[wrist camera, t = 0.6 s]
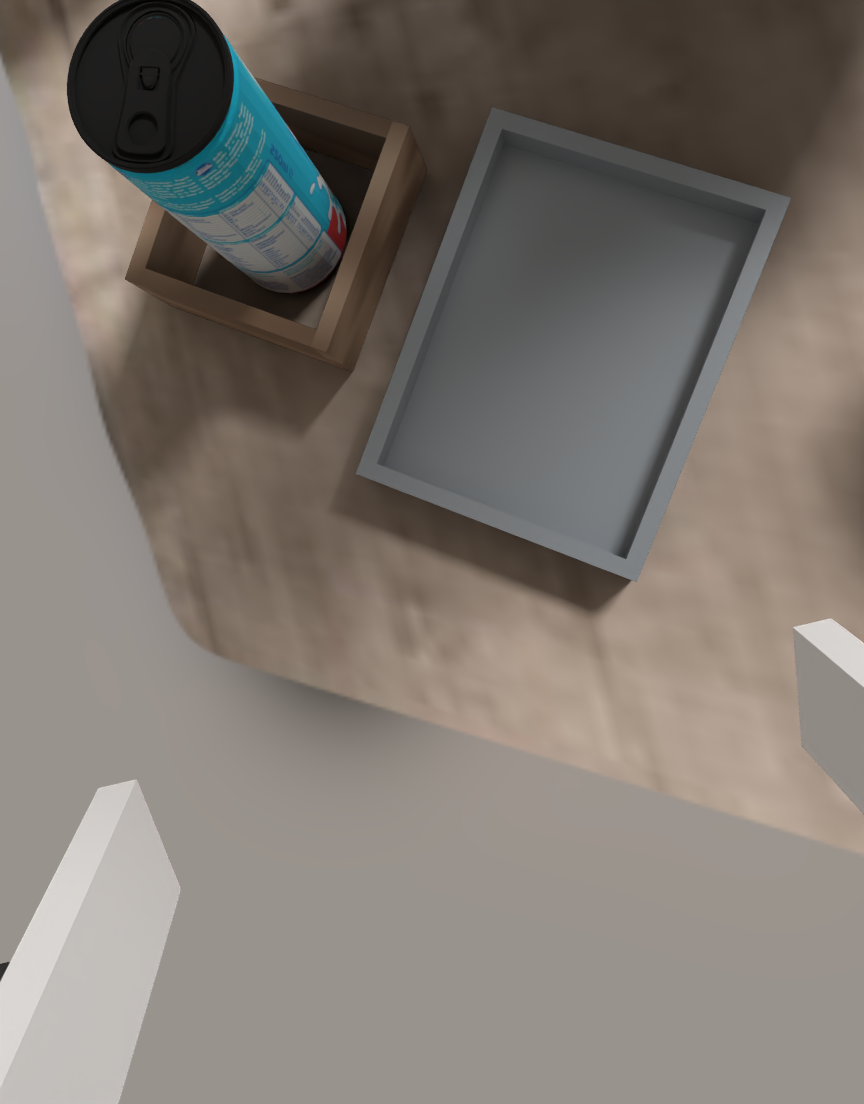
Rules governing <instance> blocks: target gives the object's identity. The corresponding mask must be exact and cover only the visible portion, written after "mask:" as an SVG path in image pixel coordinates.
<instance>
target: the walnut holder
mask: <svg viewBox="0 0 864 1104" xmlns="http://www.w3.org/2000/svg"><path fill="white" fill-rule="evenodd" d="M254 78H255V77H254ZM255 80H256V81H257V83H258V84H259V85H260V87H261V88H262V90H263V91H264V93H265V94H266V96H267V97H268V98H269V100H270V101H271V103H272V104H273V106H274V107H275V109H276V110H277V111H278V113H279V114H280V116H281V117H282V119H283V120H284V122H285V123H286V125H287V126H288V127H289V129H290V130H291V132H292V133H293V135H294V136H295V138H296V139H297V141H298V142H299V144H300V145H301V146H302V147H303V148H306V149H309V150H312V151H315V152H319V153H322V154H325V155H328V156H331V157H334V158H337V159H340V160H343V161H346V162H349V163H353V164H356V165H359V166H362V167H365V168H368V169H371V170H374V174H373V176H372V179H371V182H370V185H369V187H368V190H367V193H366V196H365V198H364V201H363V204H362V207H361V209H360V212H359V215H358V218H357V220H356V223H355V226H354V229H353V232H352V234H351V237H350V240H349V243H348V245H347V248H346V251H345V254H344V256H343V259H342V262H341V265H340V267H339V270H338V273H337V276H336V278H335V281H334V284H333V287H332V289H331V292H330V295H329V298H328V300H327V303H326V306H325V309H324V311H323V314H322V317H321V320H320V322H319V325H318V328H317V330H316V329H313V328H310V327H307V326H304V325H302V324H299V323H296V322H293V321H291V320H288V319H285V318H282V317H279V316H277V315H274V314H271V313H268V312H265V311H263V310H260V309H257V308H254V307H252V306H249V305H246V304H243V303H240V302H238V301H235V300H232V299H229V298H227V297H224V296H221V295H218V294H215V293H213V292H210V291H207V290H204V289H201V288H199V287H196V286H193V282H194V279H195V276H196V273H197V271H198V268H199V265H200V262H201V259H202V256H203V253H204V251H205V248H206V245H207V243H206V242H204V241H203V240H202V239H201V238H199V237H198V236H197V235H196V234H194V233H193V232H192V231H191V230H189V229H188V228H187V227H186V226H184V225H183V224H182V223H181V222H179V221H178V220H177V219H176V218H174V217H173V216H172V215H171V214H169V213H168V212H167V211H166V210H165V209H163V208H162V207H161V206H160V205H158V204H157V203H156V202H155V201H153V200H152V201H151V204H150V207H149V210H148V213H147V216H146V219H145V222H144V224H143V227H142V230H141V233H140V236H139V239H138V242H137V245H136V248H135V251H134V254H133V256H132V259H131V262H130V265H129V268H128V271H127V274H126V277H125V280H127V281H129V282H131V283H132V284H134V285H136V286H137V287H139V288H141V289H143V290H144V291H146V292H148V293H150V294H151V295H153V296H155V297H156V298H158V299H160V300H162V301H163V302H165V303H167V304H168V305H170V306H173V307H176V308H178V309H181V310H184V311H187V312H189V313H192V314H195V315H198V316H200V317H203V318H206V319H209V320H211V321H214V322H217V323H219V324H222V325H225V326H228V327H230V328H233V329H236V330H239V331H241V332H244V333H247V334H250V335H252V336H255V337H258V338H261V339H263V340H266V341H269V342H271V343H274V344H277V345H280V346H282V347H285V348H288V349H291V350H293V351H296V352H299V353H302V354H304V355H307V356H310V357H313V358H315V359H318V360H321V361H324V362H326V363H329V364H332V365H334V366H337V367H340V368H343V369H345V370H348V371H351V372H353V370H354V367H355V364H356V361H357V359H358V356H359V353H360V350H361V348H362V345H363V342H364V340H365V337H366V334H367V331H368V329H369V326H370V323H371V321H372V318H373V315H374V312H375V310H376V307H377V304H378V302H379V299H380V296H381V293H382V291H383V288H384V285H385V282H386V280H387V277H388V274H389V272H390V269H391V266H392V263H393V261H394V258H395V255H396V253H397V250H398V247H399V244H400V242H401V239H402V236H403V234H404V231H405V228H406V225H407V223H408V220H409V217H410V215H411V212H412V209H413V206H414V204H415V201H416V198H417V195H418V193H419V190H420V187H421V185H422V182H423V179H424V176H425V174H426V171H427V169H426V167H425V164H424V162H423V159H422V157H421V154H420V152H419V149H418V147H417V144H416V142H415V139H414V137H413V134H412V132H411V129H410V126H408V125H405V124H402V123H399V122H396V121H392V120H389V119H386V118H383V117H380V116H376V115H373V114H370V113H367V112H364V111H360V110H357V109H354V108H351V107H348V106H344V105H341V104H338V103H335V102H332V101H328V100H325V99H322V98H319V97H316V96H312V95H309V94H306V93H303V92H300V91H296V90H293V89H290V88H287V87H284V86H280V85H277V84H274V83H271V82H268V81H264V80H261V79H258V78H255Z"/></svg>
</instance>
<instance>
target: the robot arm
mask: <svg viewBox="0 0 864 1104" xmlns="http://www.w3.org/2000/svg"><path fill="white" fill-rule="evenodd" d="M793 635H794V649H795V663H796V676H797V690H798V703H799V717H800V730H801V744H802V747H803V748H804V749H805V750H806V751H807V752H808V753H809V755H810V756H811V757H812V758H813V759H814V760H815V761H816V762H817V763H818V764H819V766H820V767H821V768H822V769H823V770H824V771H825V772H826V773H827V774H828V775H829V777H830V778H831V779H832V780H833V781H834V782H835V783H836V784H837V785H838V787H839V788H840V789H841V790H842V791H843V792H844V793H845V794H846V795H847V796H848V798H849V799H850V800H851V801H852V802H853V803H854V804H855V805H856V806H857V807H858V809H859V810H860V811H861V812H862V813H863V814H864V643H863V642H862V641H860V640H859V639H858V638H856V637H855V636H854V635H852V634H851V633H850V632H848V631H847V630H846V629H844V628H843V627H842V626H841V625H839V624H838V623H837V622H835V621H834V620H833V619H826V620H822V621H818V622H813V623H809V624H805V625H800V626H796V627H793ZM180 892H181V888H180V886H179V883H178V881H177V878H176V876H175V873H174V871H173V868H172V866H171V863H170V861H169V858H168V856H167V853H166V851H165V848H164V846H163V844H162V841H161V838H160V836H159V833H158V831H157V828H156V826H155V823H154V821H153V818H152V816H151V813H150V811H149V808H148V806H147V803H146V801H145V798H144V796H143V794H142V791H141V789H140V786H139V783H138V781H137V780H136V779H135V780H131V781H126V782H122V783H118V784H114V785H109V786H105V787H100V788H98V790H97V792H96V794H95V796H94V798H93V800H92V802H91V804H90V806H89V808H88V810H87V812H86V813H85V816H84V817H83V819H82V821H81V823H80V825H79V827H78V829H77V831H76V833H75V835H74V837H73V839H72V841H71V843H70V845H69V847H68V849H67V851H66V853H65V855H64V857H63V859H62V861H61V863H60V865H59V867H58V869H57V871H56V873H55V875H54V877H53V879H52V881H51V883H50V885H49V887H48V888H47V891H46V892H45V895H44V896H43V899H42V900H41V902H40V904H39V906H38V908H37V910H36V912H35V914H34V916H33V918H32V920H31V922H30V924H29V926H28V928H27V930H26V932H25V934H24V936H23V938H22V940H21V942H20V944H19V946H18V948H17V950H16V952H15V954H14V956H13V958H12V960H11V962H7V963H2V964H0V1104H119V1100H120V1097H121V1094H122V1090H123V1087H124V1083H125V1079H126V1076H127V1073H128V1069H129V1066H130V1063H131V1059H132V1056H133V1052H134V1049H135V1046H136V1042H137V1038H138V1035H139V1032H140V1028H141V1025H142V1022H143V1018H144V1015H145V1011H146V1008H147V1005H148V1001H149V998H150V994H151V991H152V987H153V984H154V980H155V977H156V974H157V970H158V967H159V964H160V960H161V957H162V953H163V950H164V946H165V943H166V940H167V936H168V933H169V929H170V926H171V923H172V919H173V915H174V912H175V909H176V905H177V902H178V899H179V895H180Z"/></svg>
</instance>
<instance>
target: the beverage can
mask: <svg viewBox="0 0 864 1104" xmlns="http://www.w3.org/2000/svg"><path fill="white" fill-rule="evenodd" d="M67 97H68V105H69V110H70V114H71V117H72V120H73V122H74V125H75V127H76V129H77V131H78V133H79V134H80V136H81V138H82V139H83V140H84V142H85V143H86V144H87V145H88V146H89V147H90V148H91V150H93V151H94V152H95V153H96V154H97V155H98V156H100V157H101V158H102V159H104V160H105V161H106V162H108V163H109V164H110V165H111V166H112V167H113V168H115V169H116V170H117V171H118V172H119V173H121V174H122V175H123V176H124V177H125V178H127V179H128V180H129V181H130V182H131V183H133V184H134V185H135V186H136V187H138V188H139V189H140V190H141V191H142V192H144V193H145V194H146V195H147V196H149V197H150V198H151V199H152V200H153V201H155V202H156V203H157V204H158V205H160V206H161V207H162V208H163V209H165V210H166V211H167V212H168V213H169V214H171V215H172V216H173V217H174V218H176V219H177V220H178V221H179V222H181V223H182V224H183V225H184V226H186V227H187V228H188V229H189V230H191V231H192V232H193V233H194V234H196V235H197V236H198V237H199V238H201V239H202V240H203V241H204V242H206V243H207V244H208V245H209V246H211V247H212V248H213V249H214V250H216V251H217V252H218V253H219V254H221V255H222V256H223V257H224V258H226V259H227V260H228V261H229V262H231V263H232V264H233V265H234V266H236V267H237V268H238V269H239V270H241V271H242V272H243V273H244V274H246V275H247V276H248V277H249V278H251V279H252V280H253V281H254V282H255V283H256V284H258V285H260V286H262V287H264V288H265V289H268V290H271V291H275V292H278V293H297V292H302V291H306V290H309V289H311V288H313V287H316V286H317V285H319V284H320V283H322V282H323V281H324V280H326V279H327V278H328V277H329V276H330V274H331V273H332V272H333V271H334V270H335V268H336V267H337V265H338V263H339V262H340V260H341V257H342V254H343V251H344V249H345V242H346V234H347V232H346V219H345V216H344V212H343V209H342V206H341V204H340V203H339V201H338V199H337V197H336V195H335V194H334V193H333V192H332V190H331V189H330V187H329V186H328V185H327V183H326V182H325V180H324V179H323V177H322V176H321V174H320V173H319V171H318V170H317V168H316V167H315V166H314V164H313V163H312V161H311V160H310V158H309V157H308V155H307V154H306V152H305V151H304V149H303V148H302V146H301V145H300V144H299V142H298V141H297V139H296V138H295V136H294V135H293V133H292V132H291V130H290V129H289V127H288V126H287V125H286V123H285V122H284V120H283V119H282V117H281V116H280V114H279V113H278V111H277V110H276V109H275V107H274V106H273V104H272V103H271V101H270V100H269V98H268V97H267V96H266V94H265V93H264V91H263V90H262V88H261V87H260V85H259V84H258V83H257V81H256V80H255V78H254V77H253V75H252V74H251V73H250V71H249V70H248V68H247V67H246V65H245V64H244V63H243V61H242V60H241V58H240V57H239V56H238V54H237V53H236V51H235V50H234V49H233V47H232V46H231V44H230V43H229V41H228V40H227V39H226V37H225V36H224V35H223V33H222V32H221V30H220V29H219V27H218V26H217V24H216V23H215V21H214V20H213V19H212V18H211V16H210V15H209V14H208V13H207V12H206V11H205V10H204V9H202V8H201V7H200V6H199V5H197V4H196V3H194V2H193V1H191V0H119V1H117V2H116V3H114V4H112V5H111V6H109V7H108V8H106V9H105V10H104V11H103V12H102V13H100V14H99V15H98V16H97V17H96V18H95V19H94V20H93V22H92V23H91V24H90V25H89V26H88V28H87V29H86V30H85V32H84V33H83V35H82V37H81V38H80V40H79V42H78V44H77V46H76V48H75V51H74V53H73V56H72V59H71V62H70V67H69V72H68V80H67Z"/></svg>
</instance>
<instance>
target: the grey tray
mask: <svg viewBox="0 0 864 1104" xmlns="http://www.w3.org/2000/svg"><path fill="white" fill-rule="evenodd" d="M790 200H791V197H787V196H784V195H781V194H777V193H774V192H771V191H767V190H764V189H761V188H758V187H754V186H751V185H748V184H744V183H741V182H738V181H735V180H731V179H728V178H725V177H721V176H718V175H715V174H711V173H708V172H705V171H702V170H698V169H695V168H692V167H688V166H685V165H682V164H678V163H675V162H672V161H669V160H665V159H662V158H659V157H655V156H652V155H649V154H646V153H642V152H639V151H636V150H632V149H629V148H626V147H622V146H619V145H616V144H613V143H609V142H606V141H603V140H599V139H596V138H593V137H590V136H586V135H583V134H580V133H576V132H573V131H570V130H566V129H563V128H560V127H557V126H553V125H550V124H547V123H543V122H540V121H537V120H533V119H530V118H527V117H524V116H520V115H517V114H514V113H510V112H507V111H504V110H501V109H497V108H494V107H492V108H491V111H490V114H489V117H488V119H487V122H486V125H485V127H484V130H483V133H482V135H481V138H480V141H479V143H478V146H477V149H476V152H475V154H474V157H473V160H472V162H471V165H470V168H469V170H468V173H467V176H466V178H465V181H464V184H463V186H462V189H461V192H460V195H459V197H458V200H457V203H456V205H455V208H454V211H453V213H452V216H451V219H450V221H449V224H448V227H447V230H446V232H445V235H444V238H443V240H442V243H441V246H440V248H439V251H438V254H437V256H436V259H435V262H434V265H433V267H432V270H431V273H430V275H429V278H428V281H427V283H426V286H425V289H424V291H423V294H422V297H421V299H420V302H419V305H418V308H417V310H416V313H415V316H414V318H413V321H412V324H411V326H410V329H409V332H408V334H407V337H406V340H405V343H404V345H403V348H402V351H401V353H400V356H399V359H398V361H397V364H396V367H395V369H394V372H393V375H392V378H391V380H390V383H389V386H388V388H387V391H386V394H385V396H384V399H383V402H382V404H381V407H380V410H379V412H378V415H377V418H376V421H375V423H374V426H373V429H372V431H371V434H370V437H369V439H368V442H367V445H366V447H365V450H364V453H363V456H362V458H361V461H360V464H359V466H358V469H357V472H356V474H357V475H360V476H363V477H365V478H368V479H370V480H373V481H375V482H378V483H381V484H383V485H386V486H388V487H391V488H394V489H396V490H399V491H401V492H404V493H407V494H409V495H412V496H414V497H417V498H420V499H422V500H425V501H427V502H430V503H433V504H435V505H438V506H440V507H443V508H446V509H448V510H451V511H453V512H456V513H459V514H461V515H464V516H466V517H469V518H471V519H474V520H477V521H479V522H482V523H484V524H487V525H490V526H492V527H495V528H497V529H500V530H503V531H505V532H508V533H510V534H513V535H516V536H518V537H521V538H523V539H526V540H529V541H531V542H534V543H536V544H539V545H542V546H544V547H547V548H549V549H552V550H555V551H557V552H560V553H562V554H565V555H567V556H570V557H573V558H575V559H578V560H580V561H583V562H586V563H588V564H591V565H593V566H596V567H599V568H601V569H604V570H606V571H609V572H612V573H614V574H617V575H619V576H622V577H625V578H627V579H630V580H632V581H635V582H637V580H638V578H639V575H640V573H641V570H642V568H643V565H644V563H645V560H646V558H647V555H648V553H649V550H650V548H651V545H652V543H653V540H654V538H655V535H656V533H657V530H658V528H659V525H660V523H661V520H662V518H663V515H664V513H665V511H666V508H667V506H668V503H669V501H670V498H671V496H672V493H673V491H674V488H675V486H676V483H677V481H678V478H679V476H680V473H681V471H682V468H683V466H684V463H685V461H686V458H687V456H688V453H689V451H690V448H691V446H692V443H693V441H694V439H695V436H696V434H697V431H698V429H699V426H700V424H701V421H702V419H703V416H704V414H705V411H706V409H707V406H708V404H709V401H710V399H711V396H712V394H713V391H714V389H715V386H716V384H717V381H718V379H719V376H720V374H721V372H722V369H723V367H724V364H725V362H726V359H727V357H728V354H729V352H730V349H731V347H732V344H733V342H734V339H735V337H736V334H737V332H738V329H739V327H740V324H741V322H742V319H743V317H744V314H745V312H746V309H747V307H748V305H749V302H750V300H751V297H752V295H753V292H754V290H755V287H756V285H757V282H758V280H759V277H760V275H761V272H762V270H763V267H764V265H765V262H766V260H767V257H768V255H769V252H770V250H771V247H772V245H773V242H774V240H775V237H776V235H777V233H778V230H779V228H780V225H781V223H782V220H783V218H784V215H785V213H786V210H787V208H788V205H789V203H790Z"/></svg>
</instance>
